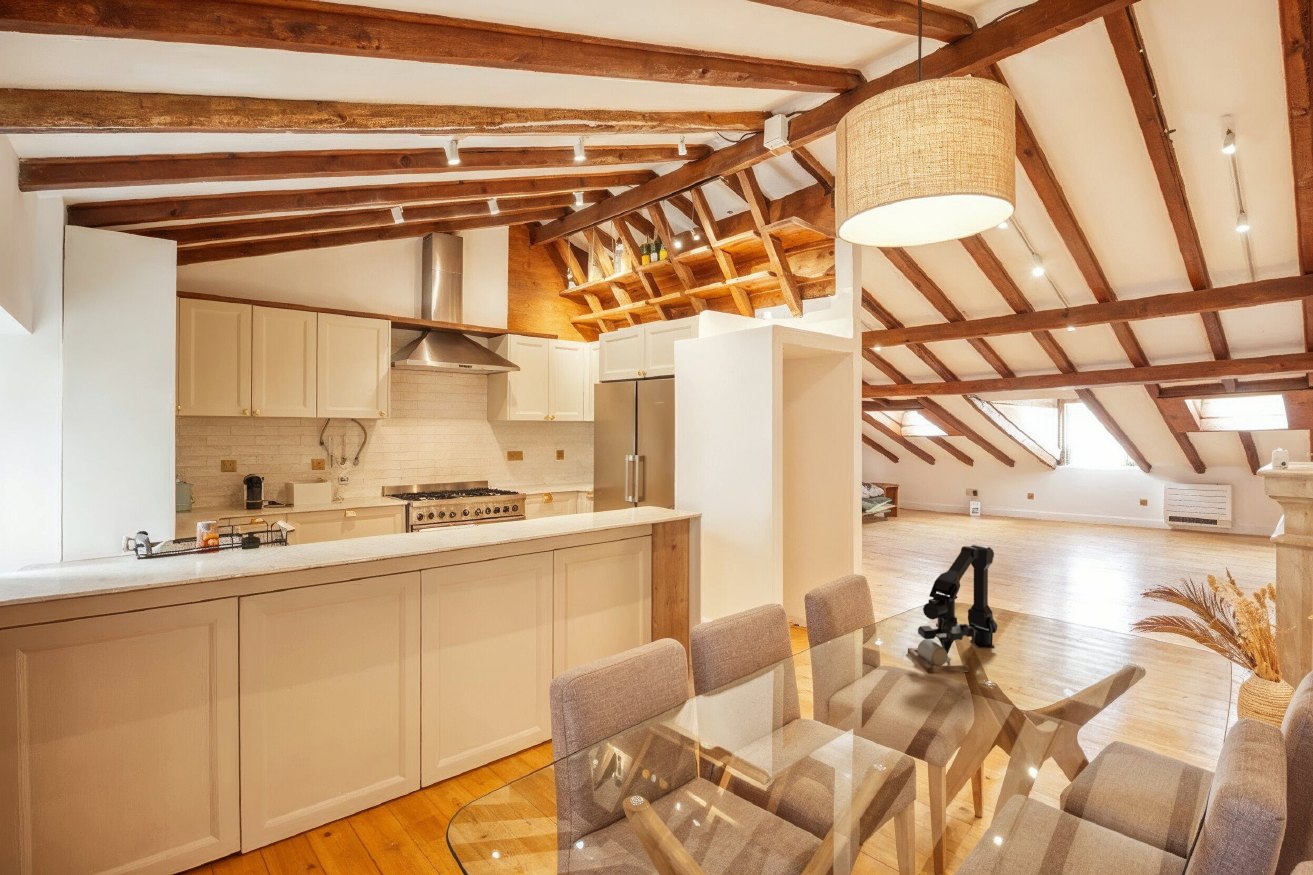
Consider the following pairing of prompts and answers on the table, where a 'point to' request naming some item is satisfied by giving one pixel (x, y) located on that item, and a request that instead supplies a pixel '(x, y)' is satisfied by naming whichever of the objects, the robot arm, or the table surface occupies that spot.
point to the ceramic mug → (932, 652)
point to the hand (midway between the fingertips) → (946, 653)
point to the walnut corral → (935, 669)
